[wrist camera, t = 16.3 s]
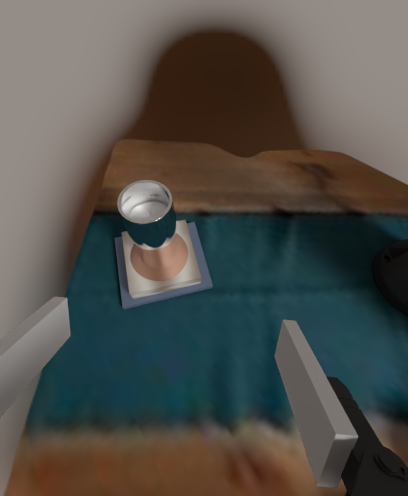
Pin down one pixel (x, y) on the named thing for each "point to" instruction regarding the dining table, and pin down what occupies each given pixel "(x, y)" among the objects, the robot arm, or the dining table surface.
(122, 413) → the dining table surface
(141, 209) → the silver metal cup
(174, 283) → the plinth
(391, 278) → the robot arm
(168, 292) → the grey flat slab
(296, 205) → the dining table surface
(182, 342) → the dining table surface
